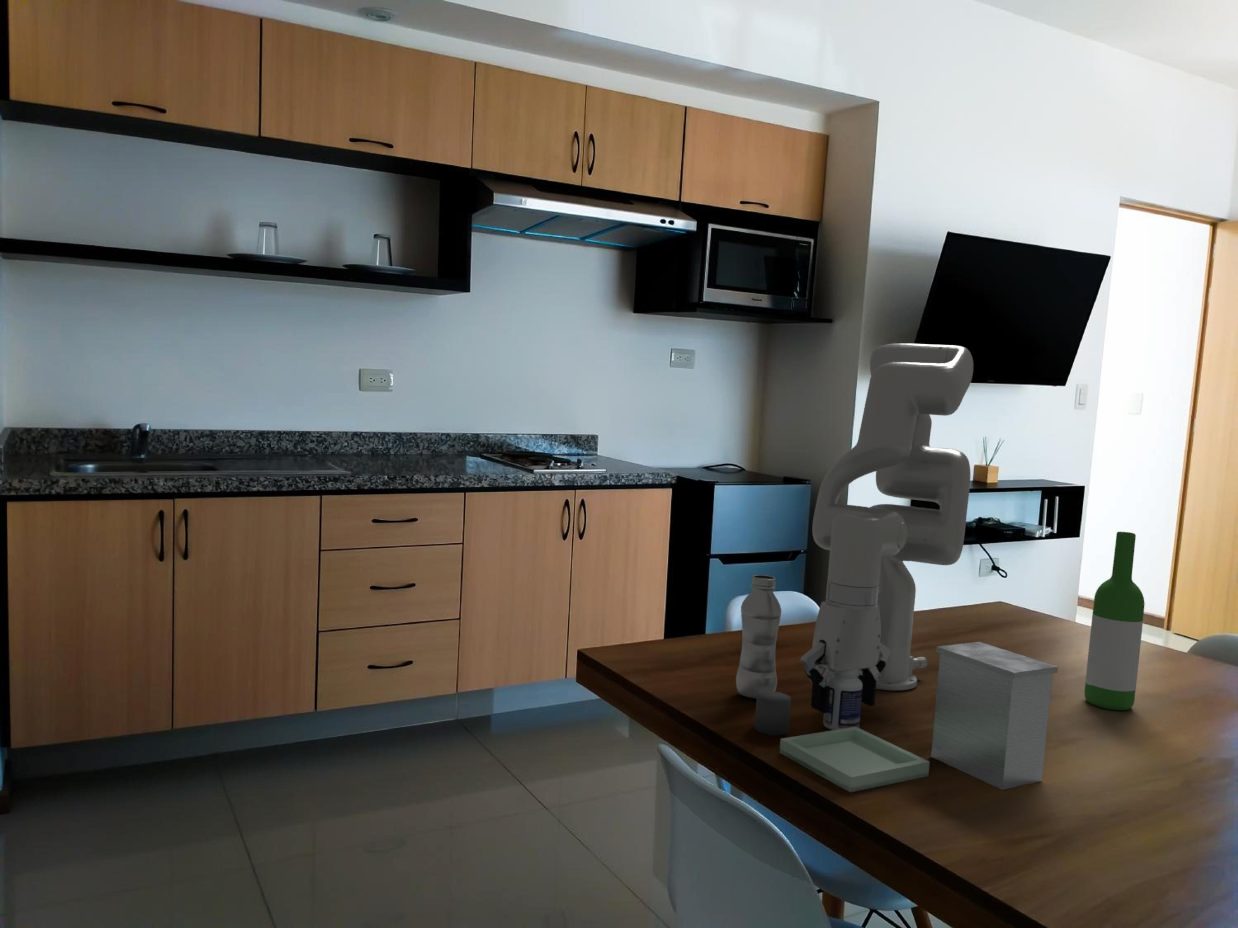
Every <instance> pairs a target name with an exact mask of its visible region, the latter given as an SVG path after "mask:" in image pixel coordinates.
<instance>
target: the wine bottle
mask: <svg viewBox="0 0 1238 928" xmlns="http://www.w3.org/2000/svg"><path fill="white" fill-rule="evenodd" d="M1115 536H1116V537H1115V546H1114V553H1113V563H1112V570H1111V571H1112V572H1111V576H1110V578H1108V579H1107V580H1105V581H1103V582H1102V583H1101V584H1100V585H1099V586H1098V587H1097V589H1096V591H1095V593H1094V597H1093V608H1092V616H1091V625H1090V634H1089V645H1088V654H1087V662H1086V673H1085V684H1084V698H1085V700H1086V701H1087V702H1088V703H1090V704H1091V705H1093V706H1095V707H1099V708H1102V709H1106V710H1110V711H1111V710H1112V711H1127V710H1130V709H1132V708H1133V706H1134V705H1135V699H1136V698H1135V697H1136V691H1137V690H1136V689H1137V683H1138V681H1137V680H1138V672H1139V663H1140V662H1139V661H1140V651H1141V643H1142V635H1143V634H1142V633H1143V624H1144V623H1143V622H1144V612H1145V598H1144V595H1143V592H1142V590H1141V589H1140V587H1139V586H1138V585H1137V584H1136V583H1135V582H1134V581H1133V568H1134V558H1135V549H1136V548H1135V546H1136V536H1137V535H1136V533H1134V532H1129V531H1117V532H1116V535H1115Z"/></svg>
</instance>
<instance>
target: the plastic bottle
mask: <svg viewBox="0 0 1238 928" xmlns="http://www.w3.org/2000/svg"><path fill="white" fill-rule="evenodd" d="M750 588H751V589H752V590H751V591H750V592H749V593H748V594H747V595H746V597H745V598H744V599H743V601H742V602H741V606H740V616H741V626H742V627H741V628H742V629H741V630H742V632H741V633H742V634H741V636H742V638H741V639H742V640H741V652H740V659H739V666H738V669H737V673H736V677H735V683H736V689H737V691H738V693H739V694H740V695H741V696H743V697H746V698H749V699H750V698H751V699H755V700H757V694H758V693H760V692H764V691H773V692H777V690H776V689H777V687H778V678H777V677H778V676H777V670H776V649H777V648H776V646H777V644H776V642H777V638H778V632H779V627H780V621H781V617H782V607H781V603H780V602H779V599H778V598H777V596H776V595H775V592H774V591H775V590H776V577H775V576H773V575H772V576H771V575H765V574H754V575H752V578H751V583H750Z"/></svg>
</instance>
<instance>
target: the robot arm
mask: <svg viewBox="0 0 1238 928" xmlns="http://www.w3.org/2000/svg"><path fill="white" fill-rule="evenodd" d="M869 372H870V378H869V384H868V386H867V387H868V388H867V393H866V398H865V399H866V400H865V403H864V408H863V412H862V413H863V414H862V418H861V422H860V423H861V424H860V428H859V432H858V439H857V442H856V443H855V445H854V446H853V447H852V448H851V449H849V450H848V451H847V452H846V453H845V454H843V455H842V456H841V457H839V458H838V460H836V462H835V463H833V465H832V466H831V467H830V469H829V470H828V471H827V472H826V474H825V475H824V478H823V479H822V481H821V483H820V485H819V490H818V494H817V498H816V502H815V509H814V513H813V519H812V527H811V528H812V529H811V531H812V537H813V541H814V543H815V544H816V545H817V546H818V547H820V548H822V549H823V550H827V551H829V560H828V571H827V573H828V574H827V581H826V582H827V584H826V593H825V594H826V595H825V601H821V604H820V607H819V610H818V612H817V617H816V620H815V621H816V622H815V625H814V631H813V638H812V639H813V640H812V647H811V649H809V650H808V651H806V653H804V654H803V655H802V656H801V658H800V662H801V664H802V667H803V669H804V674H806V676H807V677H808V680H809V682H811V683H812V687H811V696H810V697H811V699H810V707H811V708H812V709H814V710H816V711H818V712H820V713H822V714H824V713H827V712H828V709H829V696H830V687H828V686H827V684H828V682H829V681H830V679H831V678H832V676H833V674H834V673H835V672H845V671H850V670H855V669H859V675H858V676H857V678H858V679H860V680H861V682H862V685H863V687H862V700H861V704H865V705H867V706H870V707H874V706H875V700H876V691H877V690H882V691H907V690H910V689H915V687H916V686H917V684H918V679H917V677H916V675H914V674H913V671H915V670H916V669H922V668H926V667H927V666H928V660H927V658H926V657H924V656H918V657H914V656H912V655H911V647H912V639H913V638H912V636H913V627H914V614H915V613H914V612H915V603H916V602H915V601H916V592H917V588H916V582H915V579H914V577H913V576H912V573H911V572H910V571H909V569H908V567H907V566H906V565H905V563H904V562H912V563H913V562H914V563H920V564H921V563H922V564H930V565H937V566H938V565H939V566H951V565H953V564H956V563H957V562H958V561H959V559H960V557H961V555H962V553H963V549H964V548H963V547H964V541H965V535H966V524H967V523H966V522H967V514H968V508H969V507H968V506H969V499H970V498H969V497H970V488H971V465H970V461H969V457H968V456H967V455H966V454H965V453H964V452H962V451H960V450H958V449H953V448H946V447H934V446H933V447H932V446H930V440H931V431H932V425H933V424H932V423H933V422H932V418H931V416H944V417H945V416H951V415H952V414H954V413H956V412H957V410H958V409H959V407H960V405H961V403H962V401H963V399H964V397H965V395H966V393H967V391H968V389H969V387H970V386H971V385H970V384H971V382H972V379H973V373H974V359H973V356H972V354H971V352H970V350H969V349H968V348H967V347H964V346H961V345H956V344H954V345H953V344H951V345H950V344H929V343H927V344H926V343H901V342H899V343H896V342H895V343H887V344H884V345H879V346H877V347H876V348H875V349H873V351H872V353H871V356H870V359H869ZM873 473H875V484H876V488H877V489H878V491H879V493H881V494H883V495H886V496H888V497H893V498H899V499H905V500H914V501H915V500H917V501H926V502H933V503H936V504H937V505H938V506H939V509H935V508H928V507H927V508H926V507H919V506H918V507H916V506H912V505H902V504H901V505H900V504H894V503H892V504H891V503H881V504H874V505H872V506H869V507H868V506H862V505H854V504H853V505H852V504H845V503H844V504H843V503H838V502H839V498H840V496H841V494H842V492H844V490H845V489H846V488H847V486H849V485H850V484H851V483H853V482H854V481H856V480H857V479H860V478H861V477H862V478H863V476H866V475H869V474H873ZM824 671H825V672H824ZM823 672H824V673H823ZM822 673H823V674H822Z"/></svg>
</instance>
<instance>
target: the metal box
mask: <svg viewBox="0 0 1238 928" xmlns="http://www.w3.org/2000/svg"><path fill="white" fill-rule="evenodd" d="M935 652H936V653H938V654H940V655H939V665H938V673H937V674H938V676H937V687H936V696H935V697H936V698H935V708H934V710H935V711H934V721H933V731H932V740H931V741H932V743H931V753H930V757H931V758H933V759H935V760H937V761H939V762H941V763H944V764H946V765H948V766H949V767H953V768H955V769H957V770H958V771H961V772H963V773H965V774H967V775H969V776H972V777H974V778H976V779H978V780H980V781H982V782H985V783H987V784H989V785H991V786H993V787H995V788H997V789H998V790H1001V791H1002V790H1007V789H1012V788H1016V787H1020V786H1026V785H1030V784H1034V783H1038V782H1042V781H1043V773H1044V764H1045V763H1044V762H1045V753H1046V742H1047V734H1048V733H1047V732H1048V723H1049V714H1050V713H1049V712H1050V703H1051V694H1052V693H1051V692H1052V684H1053V682H1052V681H1053V674H1056V673H1057V674H1058V672H1059V671H1058V669H1059V666H1057V665H1053V664H1051V663H1047V662H1044V661H1042V660H1039V659H1036V658H1032V657H1028V656H1026V655H1022V654H1020V653H1015V652H1013V651H1010V650H1007V649H1005V648H1003V649H1002V648H1001V647H997V646H993V645H991V644H988V643H984V642H981V641H977V642H976V641H974V642H965V643H956V644H955V643H954V644H948V645H939V646H938V645H937V646H936V650H935Z"/></svg>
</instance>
